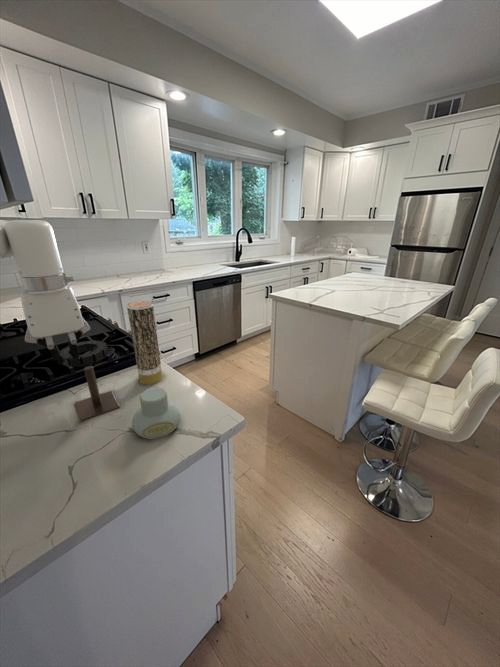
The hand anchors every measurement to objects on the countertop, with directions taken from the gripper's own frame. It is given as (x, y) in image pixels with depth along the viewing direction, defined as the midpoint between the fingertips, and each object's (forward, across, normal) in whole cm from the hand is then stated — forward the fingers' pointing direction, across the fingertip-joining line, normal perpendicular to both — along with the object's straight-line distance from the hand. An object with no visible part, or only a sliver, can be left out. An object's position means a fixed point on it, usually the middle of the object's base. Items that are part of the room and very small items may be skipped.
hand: (66, 359), depth 65 cm
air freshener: (+16, -14, +17) cm, 27 cm away
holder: (+16, -4, 0) cm, 17 cm away
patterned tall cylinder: (+16, -20, -5) cm, 26 cm away
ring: (0, -4, 0) cm, 4 cm away
